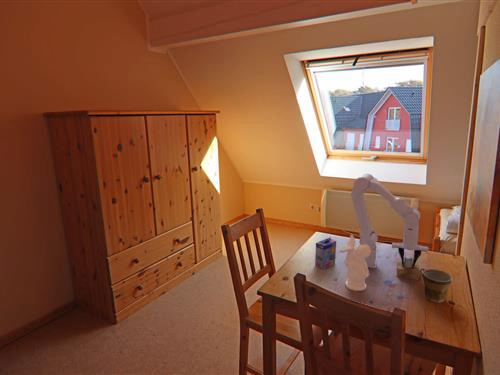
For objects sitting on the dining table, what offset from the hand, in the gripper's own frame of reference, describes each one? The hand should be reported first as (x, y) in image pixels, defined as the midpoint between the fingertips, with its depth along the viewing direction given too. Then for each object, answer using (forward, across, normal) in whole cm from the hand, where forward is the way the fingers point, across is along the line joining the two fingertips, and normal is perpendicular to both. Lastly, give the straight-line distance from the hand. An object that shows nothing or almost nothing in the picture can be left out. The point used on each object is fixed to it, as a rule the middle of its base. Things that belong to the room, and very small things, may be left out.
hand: (408, 264), depth 144 cm
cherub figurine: (+5, -22, -20) cm, 30 cm away
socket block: (+5, 0, 0) cm, 5 cm away
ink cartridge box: (+5, -36, -4) cm, 37 cm away
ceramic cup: (+5, +8, -16) cm, 19 cm away
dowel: (+5, 0, 0) cm, 5 cm away
